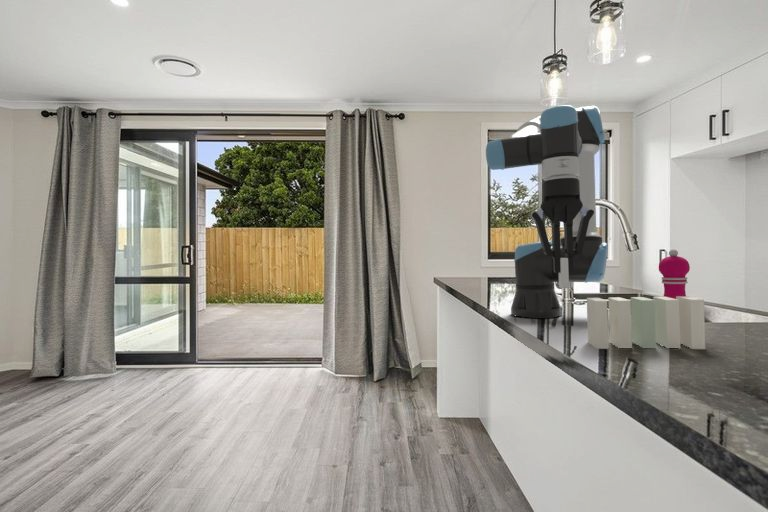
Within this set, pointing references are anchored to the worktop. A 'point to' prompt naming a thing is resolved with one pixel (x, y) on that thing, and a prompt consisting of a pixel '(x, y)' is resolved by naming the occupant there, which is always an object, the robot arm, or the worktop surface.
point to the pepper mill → (674, 274)
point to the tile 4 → (667, 322)
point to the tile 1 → (597, 323)
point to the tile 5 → (692, 322)
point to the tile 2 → (620, 322)
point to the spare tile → (643, 322)
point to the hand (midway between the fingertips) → (563, 287)
